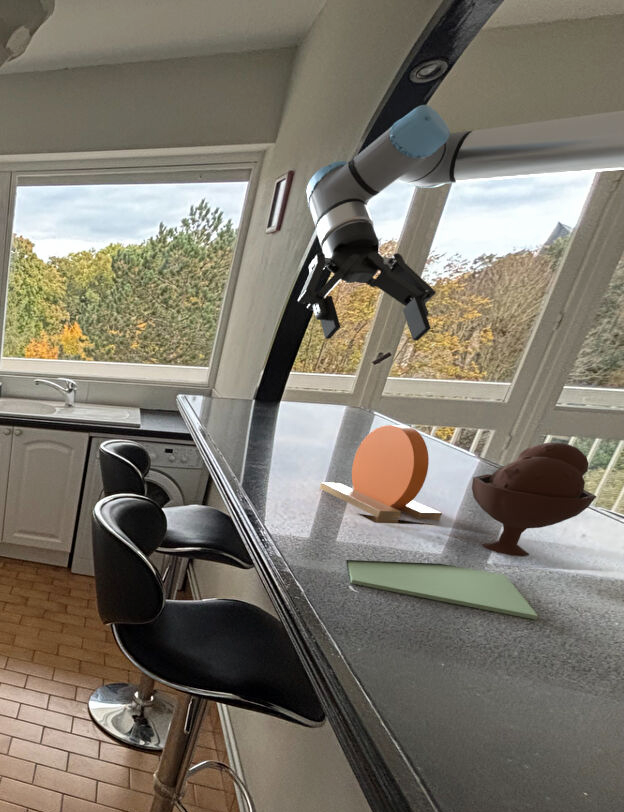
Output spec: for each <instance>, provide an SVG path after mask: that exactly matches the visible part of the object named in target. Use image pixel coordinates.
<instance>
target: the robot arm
mask: <svg viewBox="0 0 624 812" xmlns="http://www.w3.org/2000/svg"><path fill="white" fill-rule="evenodd" d="M442 117H443V116H441V115H440V114H439V112H437V111H436V110H435V109H434V108H433V107H432V106H430V105H428V104H421V105H418V106H417V107H415V108H414V109H412V110H411V111H410V112H408V113H407V114H405V115H404V116H403V117H402V118H400V119H398V120H396V121H395V122H394V123H393V124H392V125H391V126H390V127H389V128H388V129H387V130H386V131H385V132H383V133H382V134H381V135H380V136H378V137H377V138H376V139H375V140H374V141H372V142H371V143H370V144H369V145H368V146H367V147H365V148H364V149H363V150H362V151H360V153H358V154H357V155H356V156H354V157H353V158H352V159H351V160H349V161H347V160H337V161H333V162H332V163H330V164H328V165H326V166H323V167H321V168H320V169H319V170H317V171H316V172H315V173H314V174H313V175H312V177H311V178H310V179H309V181H308V184H307V186H306V197H307V207H308V209H309V212H310V215H311V217H312V219H313V220H312V221H313V224H314V227H315V231H316V234H317V238H318V242H319V245H320V248H321V252H317V253H316V255H315V256H314V258H312V260H311V262H310V263H309V264H308V275H307V278H306V280H305V282H304V285H303V288H302V290H301V292H300V294H299V297H298V299H297V302H298V304H300V305H305V304H307V306H306V309H307V310H308V311H313V313H314V317H315V319H316V320H317V321H320V325H321V329H322V332H323V337H324V339H325V340H331V339H332V337H333V336H334V335H335V334H336V333H337V332H338V331H339V329H340V328H341V324H340V320H339V316H338V314H337V311H336V307H335V306H336V305H335V302H334V299H333V296H332V295H329V293H330V292H331V291H332V290H333V289H334V288H335V287H336V286H337V285H338V284H339V283H340V281H343V282H345V283H346V284H352V283H359V284H366V285H367V286H369V287H371V288H378V289H380V290H381V291H382V292H384V293H385V294H387V295H388V296H390V297H391V298H393V299H394V300H396V301H397V302H399V303H400V304H402V305H403V306H404V307H403V308H402V313H403V316H404V318H405V322H406V324H407V327H408V330H409V333H410V336H411V338H412V341H414V342H415V341H419V340H420V339H422V337H424V336H425V335H426V334H427V333H428V332H429V331H430V330H431V329H432V328H431V325H430V323H429V319H428V316H429V311H428V308H427V305H426V304H427V303H428V302H429V301H430V300H431V299H432V298H433V297H435V295H436V294H437V292H436V290H435V289H433V287H432V286H430V284H428V283H427V282H426V281H425V280H424V279H423V278H422V277H421V276H420V275H419V274H418V273H417V272H416V271H414V269H412V268H411V266H409V264H407V263H406V261H405V260H404V257H403V256H402V254H401V253H399V252H397V253H393V255H392V256H391V257H385V258H384V257H383V256H382V255H381V254H380V252H379V247H380V240H379V237H378V234H377V231H376V228H375V225H374V222H373V218H372V216H371V213H370V211H369V207H368V203H367V202H369V201H370V200H371V199H373V198H374V197H375V196H377V195H379V194H380V193H381V192H382V191H384V190H385V189H387V188H388V187H390V185H392V184H394V183H395V182H396V181H398V182H401V183H406V184H407V185H411V186H413V187H416V188H420V189H422V188H424V189H427V188H429V189H430V188H437V187H441V186H443V185H446V184H455V183H467V182H477V181H478V182H479V181H490V180H504V179H515V178H531V177H542V176H554V175H555V176H556V175H571V174H582V173H595V172H607V171H608V172H609V171H623V170H624V110H618V111H611V112H610V111H609V112H602V113H595V114H594V113H593V114H587V115H580V116H572V117H565V118H556V119H549V120H543V121H535V122H527V123H519V124H512V125H505V126H504V125H503V126H496V127H488V128H482V129H473V130H470V131H469V130H467V131H459V132H453V133H451V132H450V128H449V127H448V125H447V122H446V121H445V120H444V119H443V118H442ZM325 268H326V269H327V270H329V271H330V272H331V273H332V274H333V275H332V277H330V278H329V280H328V281H327V282H326V283H325V284H324V285H323V286H322V288H320V289H319V290H318V291H315V290H316V287H317V285H318V283H319V280H320V277H321V275H322V273H323V271H324V270H325ZM378 271H379V274H378V275H377V276H376V278H374V277H375V275H376V274H377V273H378Z"/></svg>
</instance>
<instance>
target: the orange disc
mask: <svg viewBox="0 0 624 812" xmlns="http://www.w3.org/2000/svg"><path fill="white" fill-rule="evenodd" d="M428 450H429V449H428V447H427V444H426V441H425V439H424V437H423V436H422V434H420V432H418V430H417V429H415V428H413V427H410V426H408V425H401V424H400V425H399V424H397V425H396V424H395V425H394V424H387V425H381V426H378V427H376V428H375V429H373V430H371V432H369V434H367V435H366V436H365V437H364V439H363V440H362V441H361V443H360V445H359V446H358V447H357V450H356V452H355V455H354V458H353V462H352V468H351V482H352V489H353V490H356V491H358V492H360V493H362V494H364V495H366V496H369V497H371V498H373V499H375V500H377V501H379V502H381V503H384V504H386V505H388V506H390V507H392V508H394V509H400V508H402V507H404V506H406V505H407V504H409V503H410V502H411V501H414V499H416V497H417V496H418V494H419V493H420V492H421V490H422V488H423V486H424V484H425V481H426V478H427V475H428V470H429V451H428Z"/></svg>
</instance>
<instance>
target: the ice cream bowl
mask: <svg viewBox="0 0 624 812" xmlns="http://www.w3.org/2000/svg"><path fill="white" fill-rule="evenodd" d="M588 470H589V461H588V458H587V456H586V455H585V454H584V453H583V451H581V450H580V449H579V448H578V447H575V446H574V445H571V444H569V443H563V442H553V441H552V442H551V441H550V442H544V443H539V444H536V445H533V446H529V447H527V448H526V449H524V450H523V451H521V452H520V453H518V456H517V459H516V460H514V461H510V462H509V463H507V464H506V465H503V466H500V467H499V468H498V469H496V470H494V472H493V473H492V474H488V473H487V474H482V475H478V476H474V477H472V484H471V491H472V496H473V499H474V500H475V501H476V503H477V504H478V505H479V507H480V508H481V509H482V510H483V511H484V512H485V513H486V514H488V515H489V517H491V518H492V519H493V520H495V521H497V522H498V523H500V524H502V528H503V530H502V533H501V534H500V537H499V539H498V540H493V541H489V542H485V543H481V546H482V548H484V549H486V550H488V551H492V552H494V553H497V554H501V555H502V554H503V555H507V556H512V557H527V556H529V555H530V553H529V552H527V551H526V550H525V549H523V548H522V547H521V546H519V544H518V543H519V542H520V538H521V537H522V533H524V532H526V530H527V529H541V528H544V527H549V526H553V525H556V524H559V523H563V522H564V521H567V520H569V519H572V518H575V517H577V516H578V515H580V514H581V513H583V512H584V511H585V510H587V509H588V508H589V507H590V506H591V504H592V503H593V502H594V501H595V499H596V498H597V495H595V494H594V493H591V492H589V491H587V490H585V485H586V482H585V478H584V475H586V474H587V472H588Z"/></svg>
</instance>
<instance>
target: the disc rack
mask: <svg viewBox="0 0 624 812" xmlns="http://www.w3.org/2000/svg"><path fill="white" fill-rule="evenodd" d="M319 489H320V490H322V491H324V492H326V493H328V494H330V495H332V496H334V497H335V498H338V499H340V500H342V501H344V502H346V503H348V504H349V505H352V506H354V507H356V508H358V509H359V510H362V511H364V512H366V513H367V514H365V513H356V514H357V515H359V516H361V517H363V518H365V519H367V520H369V521H371V522H373V523H374V524H398V525H399V524H402V525H429V526H433V524H432V523H424V522H419V521H418V522H417V521H412V520H406V519H405V520H404V519H400V517H401V515H402V513H404V514H406V515H408V516H411V517H413V518H415V519H417V520H427V521H428V520H431V521H440V520H441V517H442V515H443V513H442V512H440V511H438V510H436V509H433V508H431V507H429V506H426V505H424V504H422V503H419V502H417V501H415V500H412V501H411V502H410V503H409V504H407V505H406V506H404V507H402V508H400V509H394V508H392V507H390V506H388V505H386V504H384V503H381V502H379V501H377V500H375V499H373V498H371V497H369V496H366V495H364V494H362V493H360V492H358V491H356V490H354V488H352V487H349V486H347V485H345V484H342V483H340V482H320V486H319Z"/></svg>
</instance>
